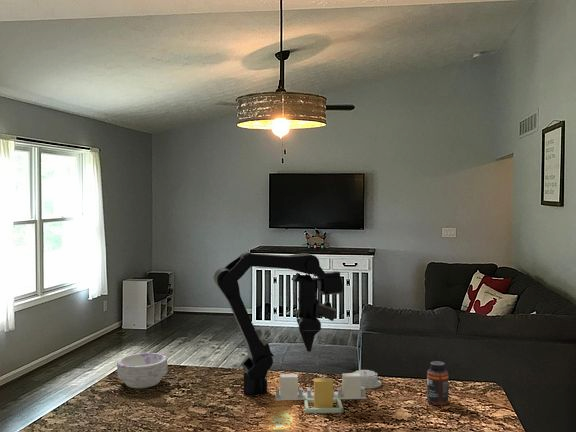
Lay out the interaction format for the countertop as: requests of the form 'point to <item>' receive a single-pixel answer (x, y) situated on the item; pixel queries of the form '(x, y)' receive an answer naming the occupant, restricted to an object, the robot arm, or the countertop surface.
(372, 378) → the mechanical component
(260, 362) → the robot arm
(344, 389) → the block
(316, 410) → the tray
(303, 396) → the block
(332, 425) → the countertop surface
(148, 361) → the paper bowls
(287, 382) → the block
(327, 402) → the block
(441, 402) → the supplement bottle
